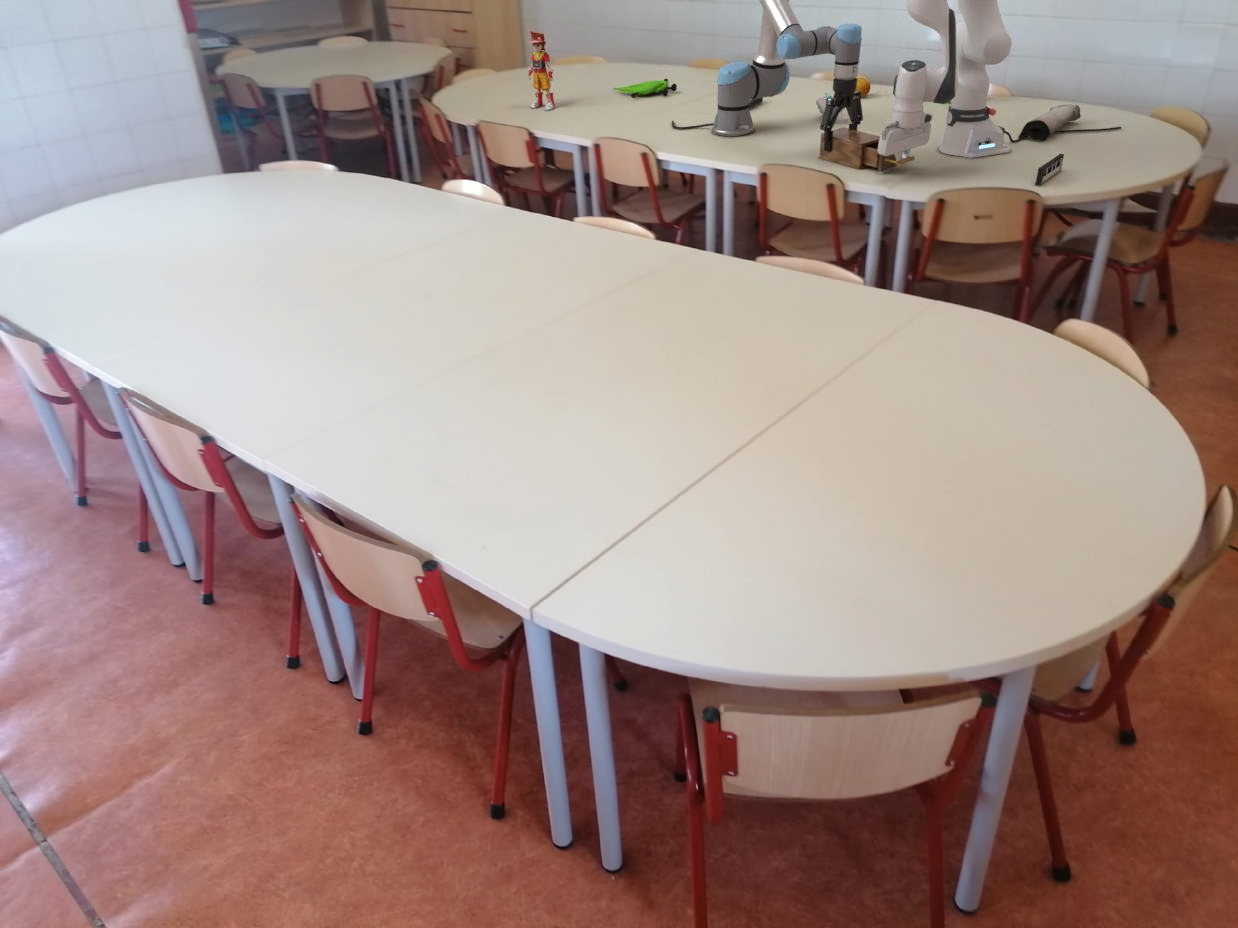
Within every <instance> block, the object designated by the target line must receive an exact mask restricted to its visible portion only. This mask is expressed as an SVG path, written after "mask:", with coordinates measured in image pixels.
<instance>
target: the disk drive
mask: <svg viewBox="0 0 1238 928" xmlns="http://www.w3.org/2000/svg"><path fill="white" fill-rule="evenodd" d="M763 100H764V97H763V98H757V99H751V100H749V110H750V109H752V108H753V107H755V106H757V105H759V104H761V103H762V102H763Z"/></svg>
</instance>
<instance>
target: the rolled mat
mask: <svg viewBox="0 0 1238 928" xmlns="http://www.w3.org/2000/svg"><path fill="white" fill-rule="evenodd" d="M1081 116H1082V115H1081V107H1080V105H1078V104H1072V103H1067V104H1061V105H1054V106H1052V107H1050V108H1049V110H1048V111H1047V112H1045V113H1043V114H1041V115H1038V116H1036V117H1035V118H1033V119H1031V120H1030V121H1028V122H1026V123H1025V124H1024V125H1023V127H1022V129H1021V131H1020V133H1019V135H1018V137H1017V138H1018V139H1020V138H1021V137H1024V136H1028V137H1027V138H1030V139H1032V140H1033V141H1038V142H1045V141H1047V140H1048V139H1049V138H1050V137H1051V136H1053V135H1054V134H1055V133H1054V132H1055V131H1057V130H1059V129H1060V128H1061V127H1062V126H1064V125H1065V124H1066V123H1068V122H1074V121H1077V120H1079V119H1080V118H1081ZM1018 139H1017V140H1018Z"/></svg>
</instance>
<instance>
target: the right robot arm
mask: <svg viewBox="0 0 1238 928" xmlns="http://www.w3.org/2000/svg"><path fill="white" fill-rule="evenodd" d="M948 3H949V2H948V0H906V10H907V13H908V14H909V17H911V18H912V19H913V20H914V21H916V22H917V23H919V24H921V25H923V26H925V27H928V28H930V29H932V30H934V31H935V32H936V33H937V34H938V35H939V37H940V38H941V44H942V45H941V50H942V51H941V53H942V54H941V55H942V58H941V59H942V60H941V61H942V66H941V67H937V68H936V67H935V68H934V67H927V63H926V62H924V61H922V60H918V59H911V60H907V61H904V62H902V63H901V65H900V66H899V70H898V73H897V74H896V75H895V76H894V80H893V89H892V94H893V97H894V98H895V101H894V104H893V107H892V114H891V116H892V117H891V123H887V124H885V126H884V127H883V128H882V130H881V133H880V135H879V136H880V139H879V144H878V150H877V151H878V153H879V154H880V155H883V156H889V155H892V154H894V155H895V157H896V161H898V160H902V159H905V158H908V156H910V154H911V150H912V149H916V148H918V147H921V146H925V145H927V144H928V142H929V141H930V137H931V131H932V123H931V122H932V121H933V118H934V115H933V114H931V113H928V112H925V111H924V103H933V104H939V105H946V104H947V103H948V102H949V101H950V100H951V103H950V105H948V110H947V115H946V127H945V131H944V133H943V137H942V140H941V142H940V144H939V147H938V151H939V152H941V153H943V154H945V155H949V156H954V157H955V156H956V157H964V158H970V159H975V158H980V157H988V156H994V155H1000V154H1001V155H1002V154H1007V153H1010V150H1011V149H1010V146H1009V145H1008V144H1007V143H1005V135H1007V136H1008V139H1009V141H1010V143H1018V142H1020V141H1022V140H1024V139H1026V138H1029V137H1028V136H1024V137H1021V138H1020V139H1016V140H1014V139H1012V135H1011V133H1009V131H1007V130H1006V128H1005V127H1002V126H1000V125H997V123H995V122H994V121H993V120H992V119H991V118H990V116H991V117H994V116H995V115H997V110H996V109H995V108H993V107H991V108H990V107H989V106H987V102H988V95H989V90H990V85H991V84H990V83H991V82H990V77H989V76H988V74H987V69H986V68H987V67H986V66H992V65H998V64H1000V63H1002V62H1003V61H1004V60H1005V59H1006V58H1007V57H1008V56H1009V54H1010V52H1011V50H1012V43H1013V42H1012V38H1011V36H1010V35H1009V33H1008V32H1007V29H1006V27H1005V25H1004V23H1003V19H1002V15H1001V12H1000V7H999V4H998V0H957V8H958V10H959V13H960V14H961V16H962V17H963V20H964V21H963V20H962V21H959V22H957V21H956V14H955V10H953V9H952V8H950V6H949V4H948ZM1121 129H1122V126H1116V127H1114V126H1113V127H1104V128H1088V129H1086V128H1085V129H1060V130H1059V129H1057V130H1056V131H1055V132H1054V133H1053V134H1057V133H1083V132H1087V133H1088V132H1106V131H1113V130H1114V131H1115V130H1121ZM901 155H902V156H901ZM902 165H906V163H903V164H900V165H899V166H902Z"/></svg>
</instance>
